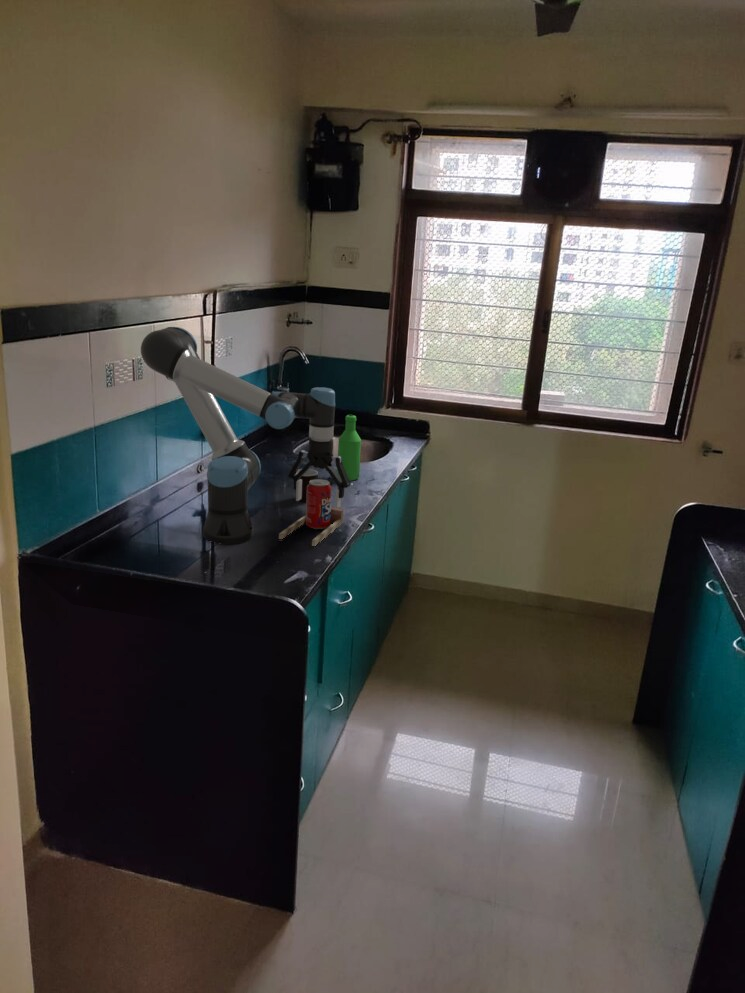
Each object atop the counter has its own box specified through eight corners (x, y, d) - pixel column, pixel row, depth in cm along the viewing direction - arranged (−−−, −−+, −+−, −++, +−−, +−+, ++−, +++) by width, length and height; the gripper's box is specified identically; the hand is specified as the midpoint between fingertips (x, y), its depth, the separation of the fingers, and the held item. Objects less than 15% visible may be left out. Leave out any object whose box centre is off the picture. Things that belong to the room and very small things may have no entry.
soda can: (303, 523, 229) (304, 479, 224) (326, 521, 231) (327, 477, 227) (309, 531, 222) (310, 486, 217) (333, 529, 225) (335, 485, 220)
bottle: (362, 480, 276) (365, 417, 268) (341, 482, 273) (344, 418, 265) (354, 474, 284) (357, 413, 276) (334, 475, 281) (336, 413, 273)
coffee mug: (313, 504, 246) (314, 477, 243) (289, 501, 248) (290, 474, 245) (322, 494, 257) (323, 468, 254) (299, 491, 259) (300, 465, 256)
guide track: (314, 546, 210) (315, 531, 209) (278, 539, 214) (279, 524, 212) (342, 523, 230) (343, 509, 229) (309, 517, 234) (309, 503, 232)
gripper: (363, 441, 217) (358, 506, 224) (289, 430, 225) (287, 493, 231) (354, 447, 210) (350, 513, 217) (279, 435, 218) (277, 500, 225)
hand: (318, 503), depth 224 cm, fingers open, 13 cm apart
